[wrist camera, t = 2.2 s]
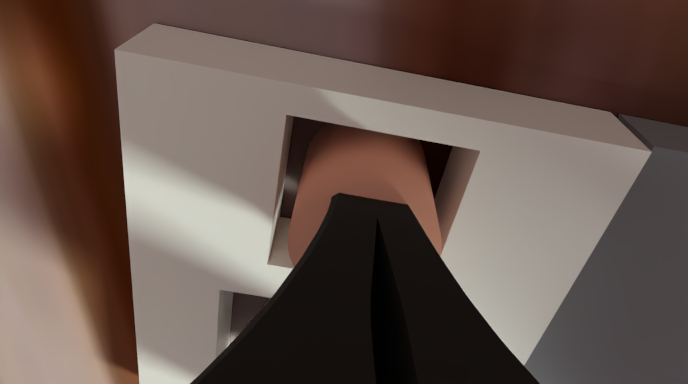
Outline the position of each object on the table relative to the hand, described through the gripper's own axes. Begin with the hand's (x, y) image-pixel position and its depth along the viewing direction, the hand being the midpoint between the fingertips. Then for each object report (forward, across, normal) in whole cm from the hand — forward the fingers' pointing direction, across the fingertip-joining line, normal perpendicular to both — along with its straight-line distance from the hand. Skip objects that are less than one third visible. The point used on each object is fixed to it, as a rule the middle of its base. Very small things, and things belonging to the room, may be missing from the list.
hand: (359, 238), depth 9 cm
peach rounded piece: (+4, 0, 0) cm, 4 cm away
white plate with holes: (+3, 0, +4) cm, 5 cm away
